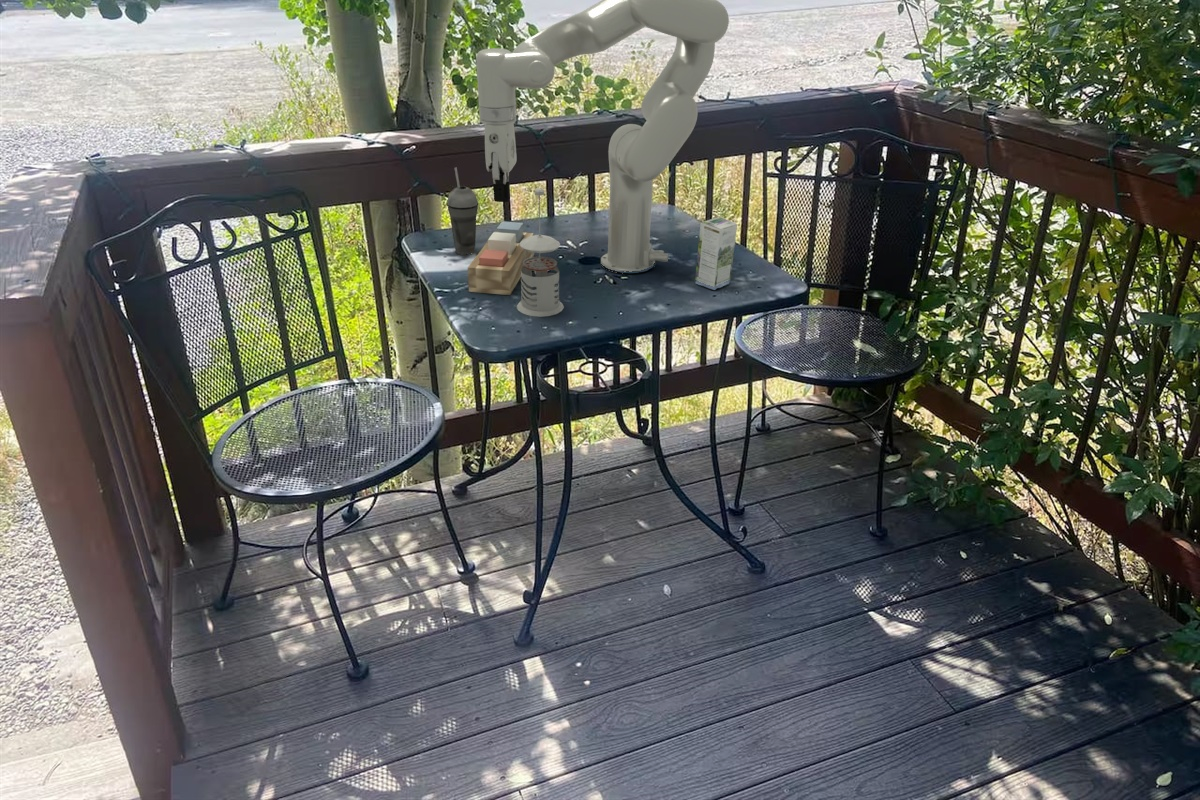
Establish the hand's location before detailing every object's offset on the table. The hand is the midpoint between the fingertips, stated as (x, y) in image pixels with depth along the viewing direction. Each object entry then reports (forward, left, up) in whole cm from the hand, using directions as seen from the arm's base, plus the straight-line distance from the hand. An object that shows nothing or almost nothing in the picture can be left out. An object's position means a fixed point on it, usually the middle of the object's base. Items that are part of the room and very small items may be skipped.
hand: (502, 200), depth 191 cm
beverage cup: (+12, -11, -17) cm, 24 cm away
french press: (-11, +16, -17) cm, 26 cm away
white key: (0, 0, -12) cm, 12 cm away
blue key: (0, -8, -12) cm, 14 cm away
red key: (0, +7, -14) cm, 15 cm away
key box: (0, 0, -17) cm, 17 cm away
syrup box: (-47, -3, -17) cm, 50 cm away
